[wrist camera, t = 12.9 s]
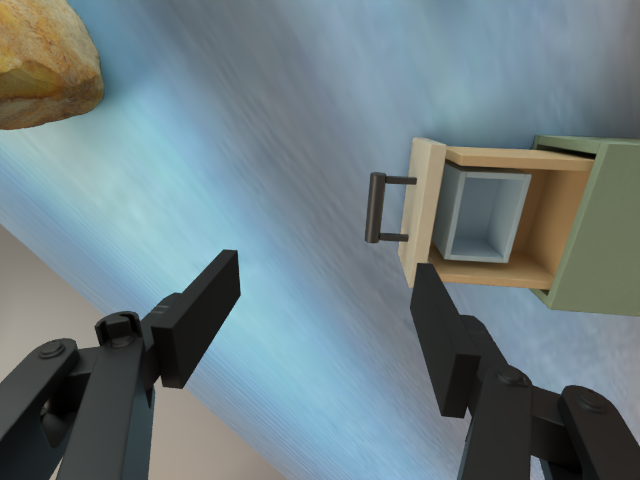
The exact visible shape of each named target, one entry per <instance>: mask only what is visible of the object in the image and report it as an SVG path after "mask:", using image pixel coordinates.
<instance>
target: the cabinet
mask: <svg viewBox="0 0 640 480" xmlns="http://www.w3.org/2000/svg"><path fill="white" fill-rule="evenodd" d="M532 150H548V151H561V152H567V153H572V154H578V155H583V156H589V157H594V158H596V159H595V161H594V164H593V167H592V170H591V173H590V176H589V179H588V182H587V184H586V187H585V190H584V193H583V196H582V199H581V202H580V205H579V207H578V210H577V213H576V216H575V219H574V222H573V225H572V228H571V231H570V233H569V236H568V239H567V242H566V245H565V248H564V251H563V254H562V256H561V259H560V262H559V265H558V268H557V271H556V274H555V277H554V280H553V282H552V285H551V288H550V290H548V289H534V288H529V289H530V290H531V291H532V292H533V293H534V294H535V295H536V296H537V297H538V298H539V299H540V300H541V301H542V302H543V303H544V304H545V305H546V306H547V307H548V308H549V309H551V310H564V311H576V312H589V313H602V314H615V315H628V316H640V139H633V138H606V137H579V136H552V135H535V139H534V143H533V146H532Z"/></svg>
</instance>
